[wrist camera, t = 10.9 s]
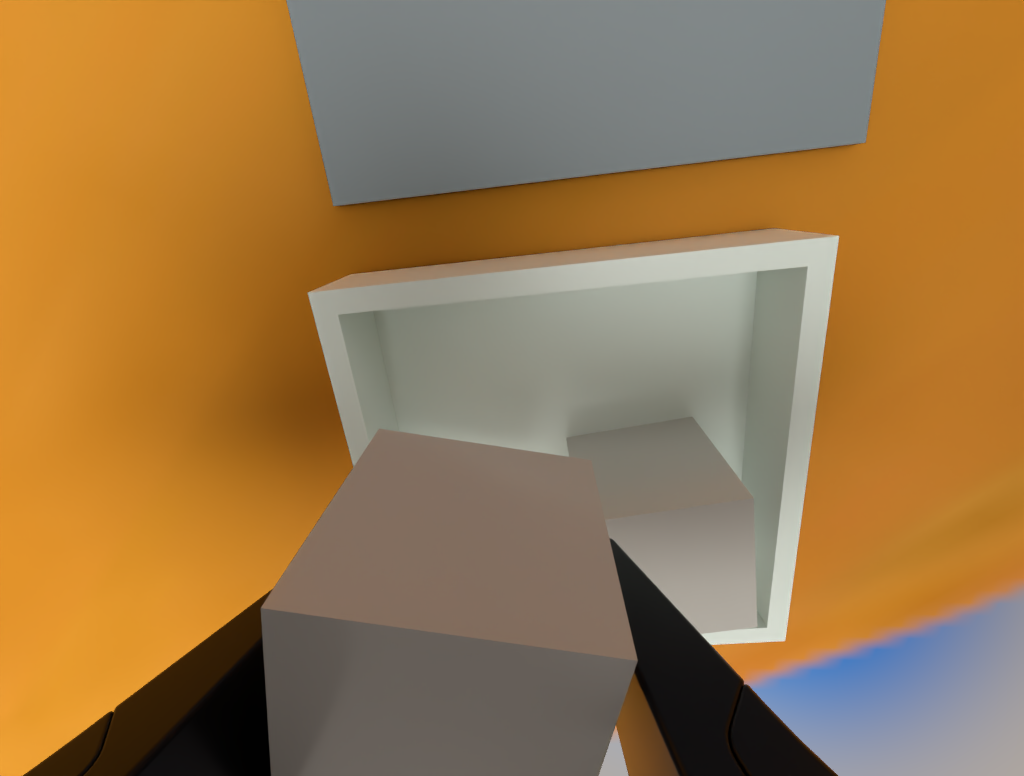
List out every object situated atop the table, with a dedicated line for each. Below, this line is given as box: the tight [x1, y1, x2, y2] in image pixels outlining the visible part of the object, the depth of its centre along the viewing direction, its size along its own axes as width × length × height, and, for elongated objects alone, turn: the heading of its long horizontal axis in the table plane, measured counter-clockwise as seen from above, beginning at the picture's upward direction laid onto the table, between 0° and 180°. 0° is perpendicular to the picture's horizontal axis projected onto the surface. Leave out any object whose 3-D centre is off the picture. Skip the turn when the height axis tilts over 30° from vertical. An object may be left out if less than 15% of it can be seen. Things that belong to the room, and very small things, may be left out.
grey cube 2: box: [261, 429, 638, 776], centre depth 8 cm, size 4×4×4 cm
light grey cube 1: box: [566, 417, 757, 634], centre depth 14 cm, size 4×4×4 cm
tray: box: [308, 228, 839, 645], centre depth 15 cm, size 12×12×3 cm
